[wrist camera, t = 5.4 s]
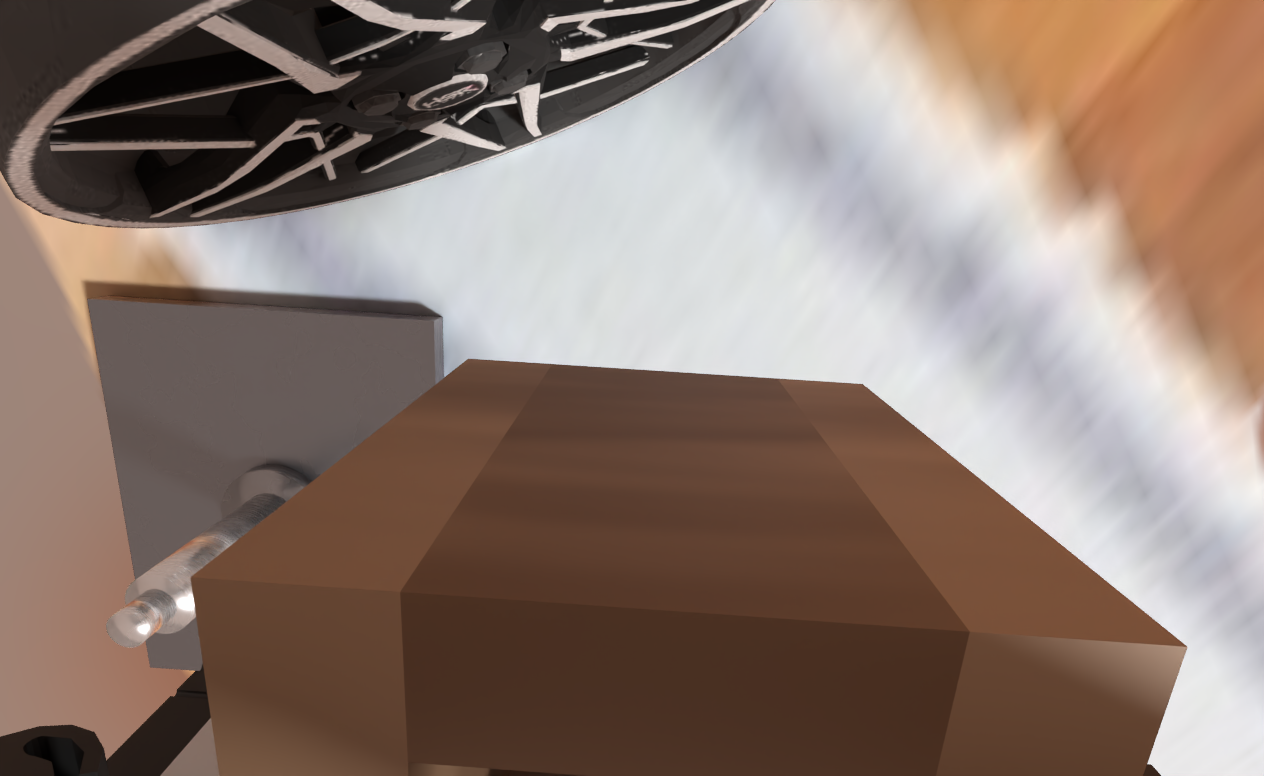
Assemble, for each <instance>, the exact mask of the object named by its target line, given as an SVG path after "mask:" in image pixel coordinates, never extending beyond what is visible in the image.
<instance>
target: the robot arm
mask: <svg viewBox="0 0 1264 776" xmlns="http://www.w3.org/2000/svg"><path fill="white" fill-rule="evenodd" d="M0 776H219V770H218V763H217V756H216V749H215V742H214V736H213V729H212V722H211V715H210V708H209V702H208V695H207V688H206V681H205V674H204V667H203V664H202V667H201V670H200V671H195V672H194V673H193V674H192V675H191V676H190V677H189V678H188V679H187V680H186V681H185V682H184V683H183V684H182V685H181V686H180V687H179V688H178V689H177V693H176V695H175V696H174V697H173V696H170V697H169V698H168V699H167V700H166V701H165V702H164V703H163V704H162V705H161V706H160V707H159V708H158V710H156V711H155V712H154V713H153V714H152V715H151V716H150V717H149V718H148V719H147V721H145V722H144V724H142V725H141V726H140V728H139V729H137V730H136V731H135V732H134V733H133V734H132V735H131V737H130V738H128V739H127V741H126V742H125V743H124V744H123V745H122V746H121V747H120V748H119V749H118V750H117V751H116V752H115V753H114V754H113V755H112V756H111V757H110V758H109V759H108V760H107V761H106V758H105V753H104V748H103V746H102V744H101V743H100V741H99V739H98V738H97V736H96V734H95V733H94V732H92V731H89V730H86V729H83V728H80V727H77V726H74V725H58V726H39V727H35V728H32V729H28V730H24V731H20V732H16V733H12V734H9V735H5V736H1V737H0ZM1143 776H1161V775H1160V774H1159V773H1158V772H1157V770H1156V769H1155V768H1154V767H1153V766H1152V765H1150V764H1147V765H1146V768H1145V771H1144V774H1143Z"/></svg>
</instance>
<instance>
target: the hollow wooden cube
mask: <svg viewBox="0 0 1264 776" xmlns="http://www.w3.org/2000/svg"><path fill="white" fill-rule="evenodd" d="M190 579H191V586H192V592H193V599H194V606H195V613H196V620H197V626H198V633H199V640H200V647H201V654H202V661H203V667H204V674H205V681H206V688H207V695H208V702H209V708H210V715H211V722H212V729H213V736H214V742H215V749H216V756H217V763H218V770H219V776H1143V774H1144V771H1145V768H1146V765H1147V763H1148V760H1149V757H1150V754H1151V751H1152V748H1153V745H1154V742H1155V739H1156V736H1157V734H1158V731H1159V728H1160V725H1161V722H1162V719H1163V716H1164V713H1165V710H1166V708H1167V705H1168V702H1169V699H1170V696H1171V693H1172V690H1173V687H1174V684H1175V681H1176V679H1177V676H1178V673H1179V670H1180V667H1181V664H1182V661H1183V658H1184V655H1185V653H1186V650H1187V646H1186V645H1184V644H1183V643H1182V642H1181V641H1180V640H1178V639H1177V638H1176V637H1175V636H1173V635H1172V634H1171V633H1170V632H1168V631H1167V630H1166V629H1165V628H1163V627H1162V626H1161V625H1160V624H1158V623H1157V622H1156V621H1155V620H1154V619H1152V618H1151V617H1150V616H1149V615H1147V614H1146V613H1145V612H1144V611H1142V610H1141V609H1140V608H1139V607H1137V606H1136V605H1135V604H1134V603H1133V602H1131V601H1130V600H1129V599H1128V598H1126V597H1125V596H1124V595H1123V594H1121V593H1120V592H1119V591H1118V590H1116V589H1115V588H1114V587H1113V586H1111V585H1110V584H1109V583H1108V582H1107V581H1105V580H1104V579H1103V578H1102V577H1100V576H1099V575H1098V574H1097V573H1095V572H1094V571H1093V570H1092V569H1090V568H1089V567H1088V566H1087V565H1086V564H1084V563H1083V562H1082V561H1081V560H1079V559H1078V558H1077V557H1076V556H1074V555H1073V554H1072V553H1071V552H1069V551H1068V550H1067V549H1066V548H1065V547H1063V546H1062V545H1061V544H1060V543H1058V542H1057V541H1056V540H1055V539H1053V538H1052V537H1051V536H1050V535H1048V534H1047V533H1046V532H1045V531H1043V530H1042V529H1041V528H1040V527H1039V526H1037V525H1036V524H1035V523H1034V522H1032V521H1031V520H1030V519H1029V518H1027V517H1026V516H1025V515H1024V514H1022V513H1021V512H1020V511H1019V510H1018V509H1016V508H1015V507H1014V506H1013V505H1011V504H1010V503H1009V502H1008V501H1006V500H1005V499H1004V498H1003V497H1001V496H1000V495H999V494H998V493H996V492H995V491H994V490H993V489H992V488H990V487H989V486H988V485H987V484H985V483H984V482H983V481H982V480H980V479H979V478H978V477H977V476H975V475H974V474H973V473H972V472H971V471H969V470H968V469H967V468H966V467H964V466H963V465H962V464H961V463H959V462H958V461H957V460H956V459H954V458H953V457H952V456H951V455H950V454H948V453H947V452H946V451H945V450H943V449H942V448H941V447H940V446H938V445H937V444H936V443H935V442H933V441H932V440H931V439H930V438H928V437H927V436H926V435H925V434H924V433H922V432H921V431H920V430H919V429H917V428H916V427H915V426H914V425H912V424H911V423H910V422H909V421H907V420H906V419H905V418H904V417H903V416H901V415H900V414H899V413H898V412H896V411H895V410H894V409H893V408H891V407H890V406H889V405H888V404H886V403H885V402H884V401H883V400H881V399H880V398H879V397H878V396H877V395H875V394H874V393H873V392H872V391H870V390H869V389H868V388H867V387H865V386H864V385H863V384H851V383H836V382H820V381H805V380H789V379H773V378H758V377H742V376H727V375H711V374H696V373H680V372H665V371H649V370H634V369H618V368H602V367H587V366H571V365H556V364H540V363H525V362H509V361H494V360H478V359H467V360H466V361H465V362H464V363H462V364H461V365H460V366H459V367H457V368H456V369H455V370H453V371H452V372H451V373H450V374H448V375H447V376H446V377H445V378H443V379H442V380H441V381H439V382H438V383H437V384H436V385H434V386H433V387H432V388H431V389H429V390H428V391H427V392H425V393H424V394H423V395H422V396H420V397H419V398H418V399H417V400H415V401H414V402H413V403H411V404H410V405H409V406H408V407H406V408H405V409H404V410H403V411H401V412H400V413H399V414H397V415H396V416H395V417H394V418H392V419H391V420H390V421H389V422H387V423H386V424H385V425H383V426H382V427H381V428H380V429H378V430H377V431H376V432H375V433H373V434H372V435H371V436H369V437H368V438H367V439H366V440H364V441H363V442H362V443H361V444H359V445H358V446H357V447H355V448H354V449H353V450H352V451H350V452H349V453H348V454H347V455H345V456H344V457H343V458H341V459H340V460H339V461H338V462H336V463H335V464H334V465H333V466H331V467H330V468H329V469H327V470H326V471H325V472H324V473H322V474H321V475H320V476H319V477H317V478H316V479H315V480H313V481H312V482H311V483H310V484H308V485H307V486H306V487H305V488H303V489H302V490H301V491H299V492H298V493H297V494H296V495H294V496H293V497H292V498H291V499H289V500H288V501H287V502H285V503H284V504H283V505H282V506H280V507H279V508H278V509H277V510H275V511H274V512H273V513H271V514H270V515H269V516H268V517H266V518H265V519H264V520H263V521H261V522H260V523H259V524H257V525H256V526H255V527H254V528H252V529H251V530H250V531H249V532H247V533H246V534H245V535H243V536H242V537H241V538H240V539H238V540H237V541H236V542H235V543H233V544H232V545H231V546H229V547H228V548H227V549H226V550H224V551H223V552H222V553H221V554H219V555H218V556H217V557H215V558H214V559H213V560H212V561H210V562H209V563H208V564H207V565H205V566H204V567H203V568H201V569H200V570H199V571H198V572H196V573H195V574H194V575H193V576H191V577H190Z"/></svg>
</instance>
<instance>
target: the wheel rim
mask: <svg viewBox="0 0 1264 776" xmlns="http://www.w3.org/2000/svg"><path fill="white" fill-rule="evenodd" d="M774 2H775V0H0V171H1V173H2V175H3V177H4V179H5V180H6V182H7V184H8V185H9V187H10V189H11V190H12V192H13V194H14V195H15V197H16V198H17V199H19V200H21V201H22V202H24V203H25V204H27V205H29V206H30V207H32V208H34V209H35V210H37V211H39V212H40V213H42V214H45V215H48V216H52V217H56V218H59V219H63V220H67V221H70V222H74V223H81V224H88V225H96V226H104V227H119V228H169V227H184V226H198V225H210V224H218V223H226V222H234V221H243V220H250V219H257V218H263V217H269V216H275V215H281V214H287V213H292V212H297V211H302V210H307V209H312V208H317V207H322V206H327V205H331V204H336V203H340V202H345V201H349V200H353V199H357V198H361V197H365V196H369V195H373V194H377V193H381V192H385V191H388V190H392V189H396V188H400V187H403V186H407V185H411V184H414V183H418V182H421V181H424V180H427V179H431V178H434V177H437V176H440V175H444V174H447V173H450V172H453V171H456V170H459V169H462V168H465V167H468V166H471V165H474V164H477V163H480V162H483V161H486V160H489V159H492V158H494V157H497V156H500V155H503V154H506V153H508V152H511V151H514V150H516V149H519V148H522V147H524V146H527V145H529V144H532V143H534V142H537V141H539V140H542V139H545V138H547V137H550V136H552V135H555V134H557V133H559V132H562V131H564V130H566V129H569V128H571V127H573V126H575V125H578V124H580V123H582V122H585V121H587V120H589V119H592V118H594V117H596V116H598V115H600V114H602V113H604V112H607V111H609V110H611V109H613V108H615V107H617V106H619V105H621V104H623V103H625V102H627V101H629V100H631V99H633V98H635V97H637V96H639V95H641V94H643V93H645V92H647V91H649V90H651V89H652V88H654V87H656V86H658V85H660V84H662V83H663V82H665V81H667V80H669V79H671V78H672V77H674V76H676V75H677V74H679V73H681V72H682V71H684V70H686V69H687V68H689V67H691V66H692V65H694V64H696V63H697V62H699V61H701V60H702V59H704V58H705V57H707V56H708V55H710V54H711V53H713V52H714V51H716V50H717V49H719V48H720V47H722V46H723V45H724V44H726V43H727V42H728V41H730V40H731V39H732V38H734V37H735V36H737V35H738V34H739V33H741V32H742V31H743V30H744V29H746V28H747V27H748V26H749V25H750V24H751V23H752V22H754V21H755V20H756V19H757V18H758V17H759V16H760V15H761V14H763V13H764V12H765V11H766V10H767V9H768V8H769V7H770V6H771V5H772V4H773V3H774Z"/></svg>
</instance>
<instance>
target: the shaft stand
mask: <svg viewBox="0 0 1264 776" xmlns="http://www.w3.org/2000/svg"><path fill="white" fill-rule="evenodd" d="M87 300H88V306H89V312H90V318H91V324H92V330H93V335H94V341H95V347H96V353H97V359H98V365H99V371H100V376H101V382H102V388H103V394H104V400H105V406H106V412H107V417H108V423H109V429H110V435H111V441H112V447H113V453H114V458H115V464H116V470H117V475H118V482H119V487H120V494H121V499H122V505H123V511H124V516H125V523H126V529H127V535H128V540H129V546H130V552H131V558H132V564H133V570H134V576H135V580H134V581H133V582H132V583H131V584H130V585H129V587H128V588H127V590H126V594H125V603H126V606H125V607H123V608H122V609H121V610H119V611H118V612H117V613H115V614H114V615H113V616H111V617H110V618H109V619H108V621H107V624H106V629H107V633H108V635H109V636H110V638H111V639H112V640H113V641H114V642H116V643H117V644H119V645H121V646H124V647H129V648H130V647H131V648H132V647H137V646H139V645H141V644H142V643H143V642H144V641H146V645H147V651H148V658H149V663H150V667H153V668H166V669H180V670H194V671H200V670H201V667H202V664H203V661H202V654H201V647H200V640H199V633H198V626H197V620H196V613H195V606H194V599H193V592H192V586H191V579H190V577H191V576H193V575H194V574H195V573H196V572H198V571H199V570H200V569H201V568H203V567H204V566H205V565H207V564H208V563H209V562H210V561H212V560H213V559H214V558H215V557H217V556H218V555H219V554H221V553H222V552H223V551H224V550H226V549H227V548H228V547H229V546H231V545H232V544H233V543H235V542H236V541H237V540H238V539H240V538H241V537H242V536H243V535H245V534H246V533H247V532H249V531H250V530H251V529H252V528H254V527H255V526H256V525H257V524H259V523H260V522H261V521H263V520H264V519H265V518H266V517H268V516H269V515H270V514H271V513H273V512H274V511H275V510H277V509H278V508H279V507H280V506H282V505H283V504H284V503H285V502H287V501H288V500H289V499H291V498H292V497H293V496H294V495H296V494H297V493H298V492H299V491H301V490H302V489H303V488H305V487H306V486H307V485H308V484H310V483H311V482H312V481H313V480H315V479H316V478H317V477H319V476H320V475H321V474H322V473H324V472H325V471H326V470H327V469H329V468H330V467H331V466H333V465H334V464H335V463H336V462H338V461H339V460H340V459H341V458H343V457H344V456H345V455H347V454H348V453H349V452H350V451H352V450H353V449H354V448H355V447H357V446H358V445H359V444H361V443H362V442H363V441H364V440H366V439H367V438H368V437H369V436H371V435H372V434H373V433H375V432H376V431H377V430H378V429H380V428H381V427H382V426H383V425H385V424H386V423H387V422H389V421H390V420H391V419H392V418H394V417H395V416H396V415H397V414H399V413H400V412H401V411H403V410H404V409H405V408H406V407H408V406H409V405H410V404H411V403H413V402H414V401H415V400H417V399H418V398H419V397H420V396H422V395H423V394H424V393H425V392H427V391H428V390H429V389H431V388H432V387H433V386H434V385H436V384H437V383H438V382H439V381H441V380H442V379H443V378H444V363H443V317H435V316H419V315H404V314H388V313H373V312H357V311H341V310H326V309H310V308H295V307H279V306H264V305H248V304H232V303H217V302H201V301H186V300H170V299H154V298H139V297H123V296H103V297H96V298H89V299H87Z"/></svg>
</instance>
